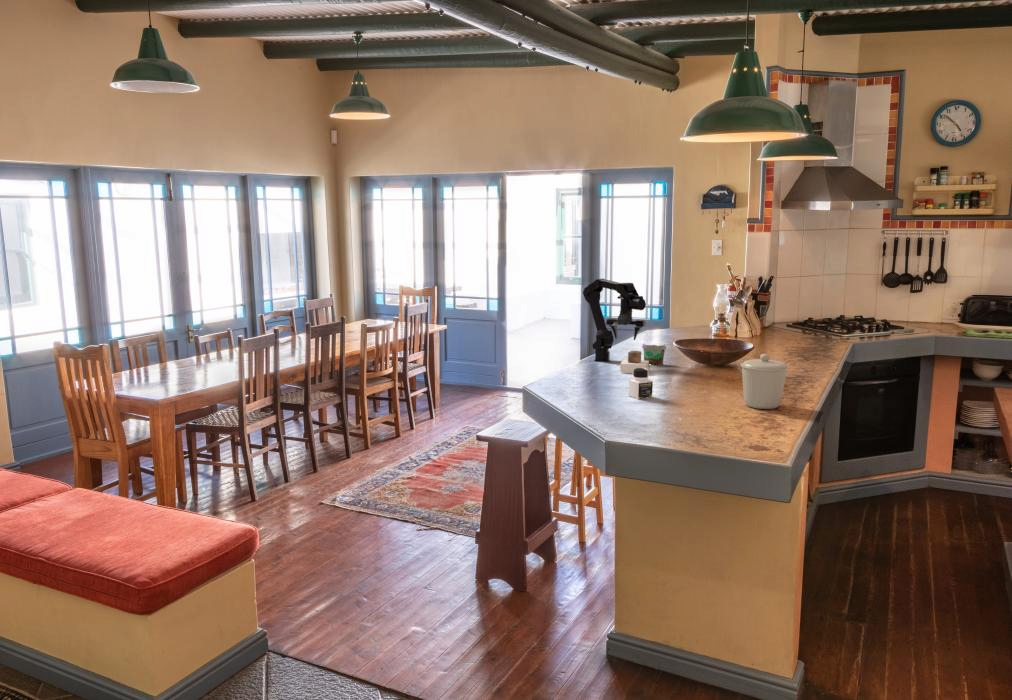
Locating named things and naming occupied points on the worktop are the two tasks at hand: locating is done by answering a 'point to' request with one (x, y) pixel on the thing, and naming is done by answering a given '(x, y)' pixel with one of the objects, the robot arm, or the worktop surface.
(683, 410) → the worktop surface
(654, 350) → the food container
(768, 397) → the canister
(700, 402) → the worktop surface
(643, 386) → the medicine bottle
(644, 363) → the plastic box
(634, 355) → the walnut cube
